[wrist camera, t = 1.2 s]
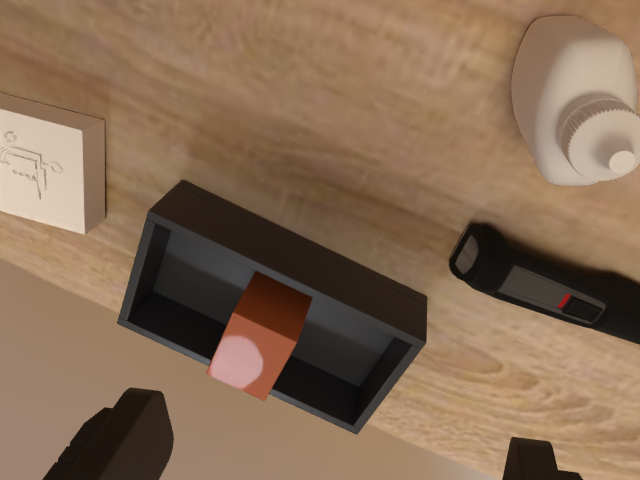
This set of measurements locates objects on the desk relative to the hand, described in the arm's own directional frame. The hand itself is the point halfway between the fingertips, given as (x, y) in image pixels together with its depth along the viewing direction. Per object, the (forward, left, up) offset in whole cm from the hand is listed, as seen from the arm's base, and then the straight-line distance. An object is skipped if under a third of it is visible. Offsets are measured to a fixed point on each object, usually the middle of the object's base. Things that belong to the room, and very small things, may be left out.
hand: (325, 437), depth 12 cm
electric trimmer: (+10, +9, -20) cm, 24 cm away
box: (-11, -20, -20) cm, 30 cm away
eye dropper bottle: (-2, +8, -20) cm, 22 cm away
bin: (+8, -9, -20) cm, 23 cm away
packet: (+9, -10, -19) cm, 23 cm away
